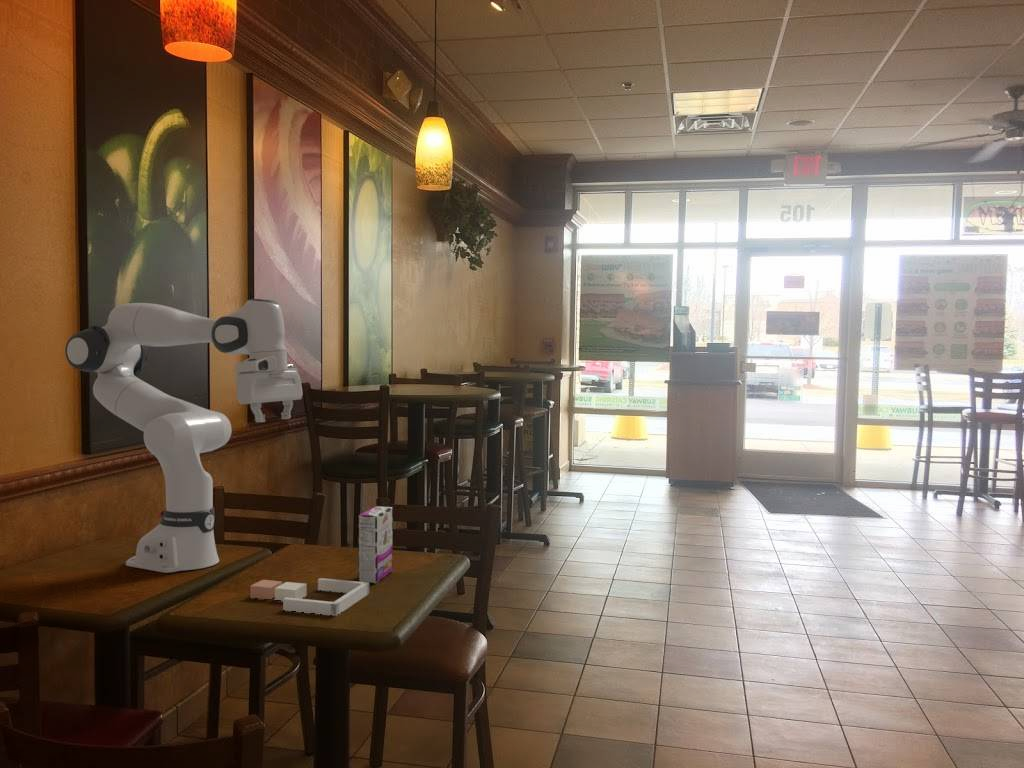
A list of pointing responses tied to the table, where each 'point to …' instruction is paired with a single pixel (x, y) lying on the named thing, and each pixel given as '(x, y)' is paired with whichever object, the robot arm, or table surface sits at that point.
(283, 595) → the cream tile
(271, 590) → the terracotta tile
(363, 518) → the candy bar box
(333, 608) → the box
